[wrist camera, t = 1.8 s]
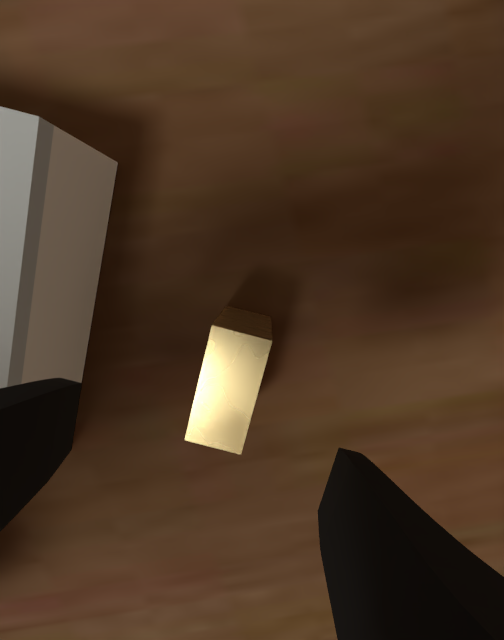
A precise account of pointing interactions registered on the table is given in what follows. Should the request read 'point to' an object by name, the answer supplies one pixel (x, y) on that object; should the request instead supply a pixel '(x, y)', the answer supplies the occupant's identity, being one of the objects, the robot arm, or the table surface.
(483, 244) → the table surface
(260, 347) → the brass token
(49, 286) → the coin box
